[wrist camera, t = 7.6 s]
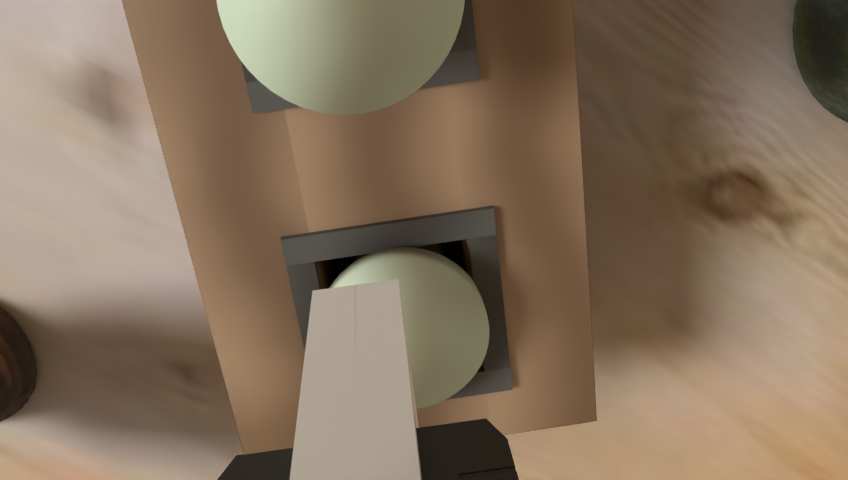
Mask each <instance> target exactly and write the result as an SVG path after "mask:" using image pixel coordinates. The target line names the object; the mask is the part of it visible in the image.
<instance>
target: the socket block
mask: <svg viewBox="0 0 848 480" xmlns="http://www.w3.org/2000/svg"><path fill="white" fill-rule="evenodd" d="M122 3H123V7H124V10H125V14H126V18H127V21H128V25H129V29H130V33H131V36H132V40H133V44H134V47H135V51H136V55H137V59H138V62H139V66H140V70H141V73H142V77H143V81H144V84H145V88H146V92H147V96H148V99H149V103H150V107H151V110H152V114H153V118H154V122H155V125H156V129H157V133H158V136H159V140H160V144H161V148H162V151H163V155H164V159H165V162H166V166H167V170H168V174H169V177H170V181H171V185H172V188H173V192H174V196H175V199H176V203H177V207H178V211H179V214H180V218H181V222H182V225H183V229H184V233H185V237H186V240H187V244H188V248H189V251H190V255H191V259H192V263H193V266H194V270H195V274H196V277H197V281H198V285H199V289H200V292H201V296H202V300H203V303H204V307H205V311H206V314H207V318H208V322H209V326H210V329H211V333H212V337H213V340H214V344H215V348H216V352H217V355H218V359H219V363H220V366H221V370H222V374H223V378H224V381H225V385H226V389H227V392H228V396H229V400H230V404H231V407H232V411H233V415H234V418H235V422H236V426H237V429H238V433H239V437H240V441H241V444H242V448H243V452H244V454H251V453H259V452H266V451H273V450H280V449H287V448H293V447H294V439H295V430H296V422H297V414H298V406H299V397H300V389H301V381H302V373H303V365H304V356H305V348H306V340H307V332H308V323H309V315H310V307H311V299H312V291H313V290H321V289H328V288H330V286H331V285H332V283H333V282H334V280H335V279H336V278H337V277H338V276H339V275H340V273H341V272H342V271H341V266H340V260H339V258H343V257H350V256H357V255H363V254H370V253H374V252H377V251H380V250H385V249H390V248H400V247H408V248H410V247H417V246H424V245H430V244H437V243H444V242H451V241H456V248H457V256H458V264H459V266H460V267H461V268H462V269H463V270H464V271H465V272H466V273H467V274H468V275H469V276H470V277H471V279H472V280H473V282H474V283H475V284H476V286H477V288H478V290H479V292H480V294H481V297H482V300H483V303H484V306H485V310H486V313H487V317H488V322H489V344H488V348H487V352H486V355H485V358H484V360H483V362H482V364H481V366H480V368H479V369H478V371H477V373H476V374H475V375H474V377H473V378H472V379H471V380H470V381H469V382H468V383H467V384H466V385H465V386H464V387H463V388H462V389H461V390H459V391H458V392H457V393H456V394H454V395H452V396H451V397H449V398H447V399H446V400H443V401H441V402H439V403H437V404H434V405H431V406H428V407H424V408H419V409H416V410H417V419H418V427H419V428H420V427H428V426H435V425H442V424H449V423H456V422H464V421H471V420H478V419H485V418H486V419H487V420H488V421H489V422H490V423H491V424H492V425H493V426H494V427H495V428H496V429H498V430H499V431H500V432H501V433H502V434H503V435H508V434H514V433H521V432H527V431H534V430H541V429H547V428H554V427H560V426H567V425H573V424H580V423H587V422H593V421H597V414H596V397H595V380H594V363H593V345H592V328H591V311H590V294H589V276H588V259H587V242H586V225H585V207H584V190H583V173H582V156H581V139H580V121H579V104H578V87H577V70H576V52H575V35H574V18H573V1H572V0H465V3H464V11H463V16H462V21H461V25H460V28H459V31H458V34H457V37H456V40H455V42H454V44H453V46H452V48H451V50H450V52H449V54H448V55H447V57H446V58H445V60H444V61H443V63H442V64H441V66H440V67H439V69H438V70H437V71H436V72H435V73H434V74H433V76H432V77H431V78H430V79H429V80H428V81H427V82H426V83H425V84H423V85H422V86H421V87H420V88H419V89H418V90H416V91H415V92H414V93H412V94H411V95H409V96H408V97H406V98H405V99H403V100H401V101H399V102H397V103H395V104H393V105H391V106H388V107H385V108H382V109H380V110H377V111H372V112H368V113H363V114H352V115H336V114H327V113H321V112H315V111H312V110H309V109H306V108H303V107H300V106H298V105H295V104H293V103H291V102H289V101H287V100H285V99H283V98H282V97H280V96H278V95H277V94H275V93H273V92H272V91H271V90H269V89H268V88H267V87H266V86H264V85H263V84H262V83H261V82H259V81H258V80H257V79H256V77H255V76H254V75H253V74H252V73H251V72H250V71H249V70H248V69H247V68H246V67H245V65H244V64H243V63H242V61H241V60H240V59H239V57H238V56H237V54H236V52H235V51H234V49H233V47H232V46H231V44H230V42H229V40H228V38H227V35H226V33H225V31H224V28H223V26H222V22H221V19H220V15H219V12H218V7H217V1H216V0H122Z"/></svg>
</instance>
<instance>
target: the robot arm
mask: <svg viewBox="0 0 848 480" xmlns="http://www.w3.org/2000/svg"><path fill="white" fill-rule="evenodd" d="M218 480H519V479H518V475H517V472H516V470H515V465H514V461H513V458H512V454H511V451H510V447H509V444H508V440H507V438H506V437H505V436H504V435H503V434H502V433H501V432H500V431H499V430H498V429H496V428H495V427H494V426H493V425H492V424H491V423H490V422H489V421H488V420H487V419H486V418H485V419H478V420H471V421H464V422H456V423H449V424H442V425H435V426H428V427H420V428H419V427H418V419H417V410H416V403H415V396H414V388H413V381H412V374H411V366H410V359H409V352H408V344H407V337H406V330H405V323H404V315H403V308H402V301H401V293H400V286H399V279H395V280H388V281H380V282H373V283H365V284H358V285H350V286H343V287H336V288H328V289H321V290H313V291H312V299H311V307H310V315H309V323H308V332H307V340H306V348H305V356H304V365H303V373H302V381H301V389H300V397H299V406H298V414H297V422H296V430H295V439H294V447H293V448H287V449H280V450H273V451H266V452H259V453H251V454H244V455H237V456H236V457H235V458H234V459H233V460H232V462H231V463H230V464H229V466H228V467H227V468H226V469H225V471H224V472H223V473H222V474H221V476H220V477H219V478H218Z"/></svg>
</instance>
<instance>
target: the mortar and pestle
mask: <svg viewBox="0 0 848 480" xmlns="http://www.w3.org/2000/svg"><path fill="white" fill-rule="evenodd" d="M36 373H37V372H36V365H35V358H34V355H33V353H32V350H31V348H30V345H29V343H28V341H27V338H26V336H25V334H24V333H23V331H22V330H21V328H20V327H19V326H18V325H17V323H16V322H15V321H14V320H13V319H11V318H10V317H9V316H8V315H7V314H6V313H5V312H4V311H3V310H2V309H1V308H0V421H2V420H4V419H6V418H8V417H10V416H12V415H13V414H15V413H16V412H17V411H18V410H20V409H21V408H22V407H23V406H24V404H25V403H27V401H28V399H29V397H30V395H31V394H32V393H33V391H34V389H35V386H36Z"/></svg>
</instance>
